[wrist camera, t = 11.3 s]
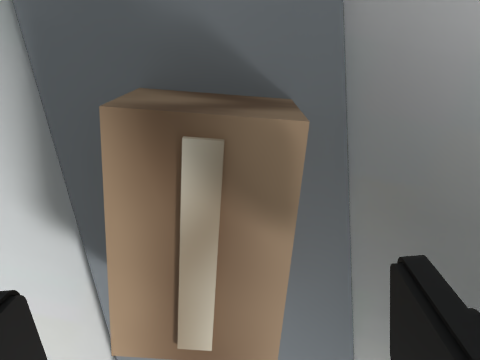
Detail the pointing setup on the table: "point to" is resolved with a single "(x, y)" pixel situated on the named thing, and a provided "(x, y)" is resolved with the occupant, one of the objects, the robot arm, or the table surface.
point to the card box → (199, 221)
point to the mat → (219, 82)
